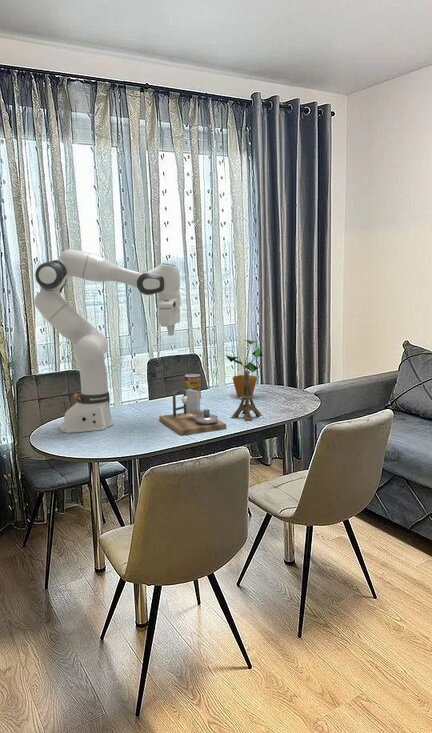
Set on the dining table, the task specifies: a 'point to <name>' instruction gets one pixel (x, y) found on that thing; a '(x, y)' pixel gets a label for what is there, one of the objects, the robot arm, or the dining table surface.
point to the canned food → (193, 382)
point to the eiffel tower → (246, 401)
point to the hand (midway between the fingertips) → (171, 335)
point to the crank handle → (198, 408)
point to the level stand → (187, 420)
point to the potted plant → (240, 379)
